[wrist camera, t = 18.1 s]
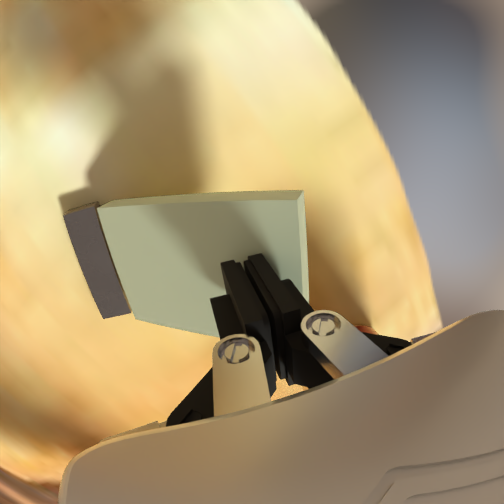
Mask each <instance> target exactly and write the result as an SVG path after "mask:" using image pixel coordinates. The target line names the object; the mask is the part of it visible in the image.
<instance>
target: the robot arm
mask: <svg viewBox="0 0 504 504" xmlns="http://www.w3.org/2000/svg"><path fill="white" fill-rule="evenodd" d="M243 263H244V269H243V267H242V265H241V263H240V262H236V263H235V261H234V260H229V261H225V262H221V263H220V265H221V270H222V275H223V280H224V285H225V289H226V295H222V296H218V297H214V298H210V302H211V306H212V310H213V314H214V318H215V322H216V325H217V329H218V333H219V336H220V341H219V342H218V343H216V345H215V347H214V348H213V353H212V359H213V367H212V368H211V369H210V370H209V372H208V373H207V374H206V375H205V376H204V377H203V378H202V380H201V381H200V382H199V383H198V384H197V385H196V386H195V387H194V389H193V390H192V391H191V392H190V393H189V394H188V395H187V396H186V397H185V399H184V400H183V401H182V402H181V403H180V404H179V405H178V406H177V407H176V408H175V409H174V411H173V412H172V413H171V414H170V416H169V417H168V419H167V421H165V422H162V423H158V421H155V422H152V423H150V424H147V425H144V426H141V427H138V428H135V429H132V430H129V431H126V432H123V433H120V434H117V435H114V436H110V437H107V438H105V439H103V440H101V441H100V442H99V443H98V444H96V445H94V446H92V447H90V448H88V449H86V450H84V451H82V452H81V453H79V454H78V455H76V456H75V457H74V458H73V459H72V460H71V461H70V462H69V463H68V465H67V467H66V468H65V471H64V473H63V476H62V479H61V484H60V489H59V495H58V504H504V310H490V311H483V312H479V313H476V314H473V315H470V316H468V317H466V318H463V319H461V320H459V321H457V322H455V323H453V324H451V325H449V326H447V327H445V328H443V329H441V330H440V331H438V332H435V333H431V334H428V335H424V336H420V337H417V338H413V339H411V341H410V342H408V341H406V340H403V339H399V338H393V337H387V336H382V335H376V334H371V333H366V332H360V331H359V330H358V329H357V328H356V327H354V326H353V325H352V324H351V323H350V322H349V321H347V320H346V319H345V318H344V317H343V316H341V315H340V314H338V313H337V312H334V311H330V310H318V311H314V310H313V309H312V307H311V306H310V305H309V303H308V302H307V301H306V299H305V298H304V297H303V295H302V294H301V293H300V291H299V290H298V289H297V287H296V286H295V285H294V284H293V282H292V281H291V280H290V279H285V280H280V279H279V277H278V276H277V274H276V273H275V271H274V270H273V269H272V267H271V266H270V264H269V263H268V261H267V260H266V259H265V257H264V256H263V254H262V253H259V254H255V255H250V256H248V260H245V261H243ZM276 372H277V374H278V376H279V378H280V379H284V378H285V379H286V381H287V383H288V385H289V386H290V385H293V384H298V385H301V386H303V390H304V391H302V392H299V393H296V394H293V395H290V396H287V397H284V398H281V399H278V400H274V401H271V396H272V395H273V393H274V392H275V390H276V381H277V378H276Z"/></svg>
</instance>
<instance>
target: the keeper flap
mask: <svg viewBox="0 0 504 504" xmlns="http://www.w3.org/2000/svg"><path fill="white" fill-rule="evenodd" d="M97 211H98V214H99V218H100V221H101V224H102V228H103V231H104V234H105V237H106V240H107V244H108V247H109V250H110V253H111V256H112V259H113V261H114V264H115V267H116V270H117V273H118V275H119V278H120V281H121V284H122V286H123V289H124V291H125V294H126V297H127V299H128V302H129V304H130V307H131V309H132V311H133V314H134V316H135V319H137V320H141V321H145V322H149V323H153V324H157V325H162V326H166V327H171V328H175V329H180V330H185V331H189V332H194V333H199V334H204V335H209V336H215V337H220V336H219V333H218V329H217V325H216V322H215V318H214V314H213V310H212V306H211V302H210V298H214V297H218V296H222V295H226V289H225V285H224V280H223V275H222V270H221V265H220V263H221V262H225V261H229V260H234V261H235V263H236V262H240V263H241V265H242V267H243V269H244V263H243V261H245V260H248V256H250V255H255V254H259V253H262V254H263V256H264V257H265V259H266V260H267V261H268V263H269V264H270V266H271V267H272V269H273V270H274V271H275V273H276V274H277V276H278V277H279V279H280V280H285V279H290V280H291V281H292V282H293V284H294V285H295V286H296V287H297V289H298V290H299V291H300V293H301V294H302V295H303V297H304V298H305V299H306V301H307V302H308V303H309V280H308V255H307V235H306V218H305V203H304V190H289V191H243V192H217V193H198V194H181V195H167V196H153V197H141V198H130V199H120V200H112V201H110V202H108V203H106V204H104V205H102V206H100V207H98V208H97Z"/></svg>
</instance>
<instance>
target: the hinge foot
mask: <svg viewBox="0 0 504 504" xmlns="http://www.w3.org/2000/svg"><path fill="white" fill-rule="evenodd" d="M98 207H100V206H99V203H98V202H95V203H91V204H88V205H85V206H81V207H78V208H75V209H72V210H68V211H67V212H66V213H65V214H64V215H63V217H64V220H65V223H66V227H67V230H68V233H69V236H70V239H71V242H72V244H73V247H74V250H75V253H76V255H77V258H78V261H79V263H80V266H81V269H82V271H83V274H84V276H85V279H86V281H87V284H88V286H89V288H90V291H91V293H92V295H93V298H94V300H95V302H96V304H97V307H98V309H99V311H100V313H101V315H102V317H103V319H105V318H110V317H115V316H120V315H124V314H129V313H131V311H132V309H131V307H130V304H129V302H128V299H127V297H126V294H125V291H124V289H123V286H122V284H121V281H120V278H119V275H118V273H117V270H116V267H115V264H114V261H113V259H112V256H111V253H110V250H109V247H108V244H107V240H106V237H105V234H104V231H103V228H102V224H101V221H100V218H99V214H98V211H97V208H98Z"/></svg>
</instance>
